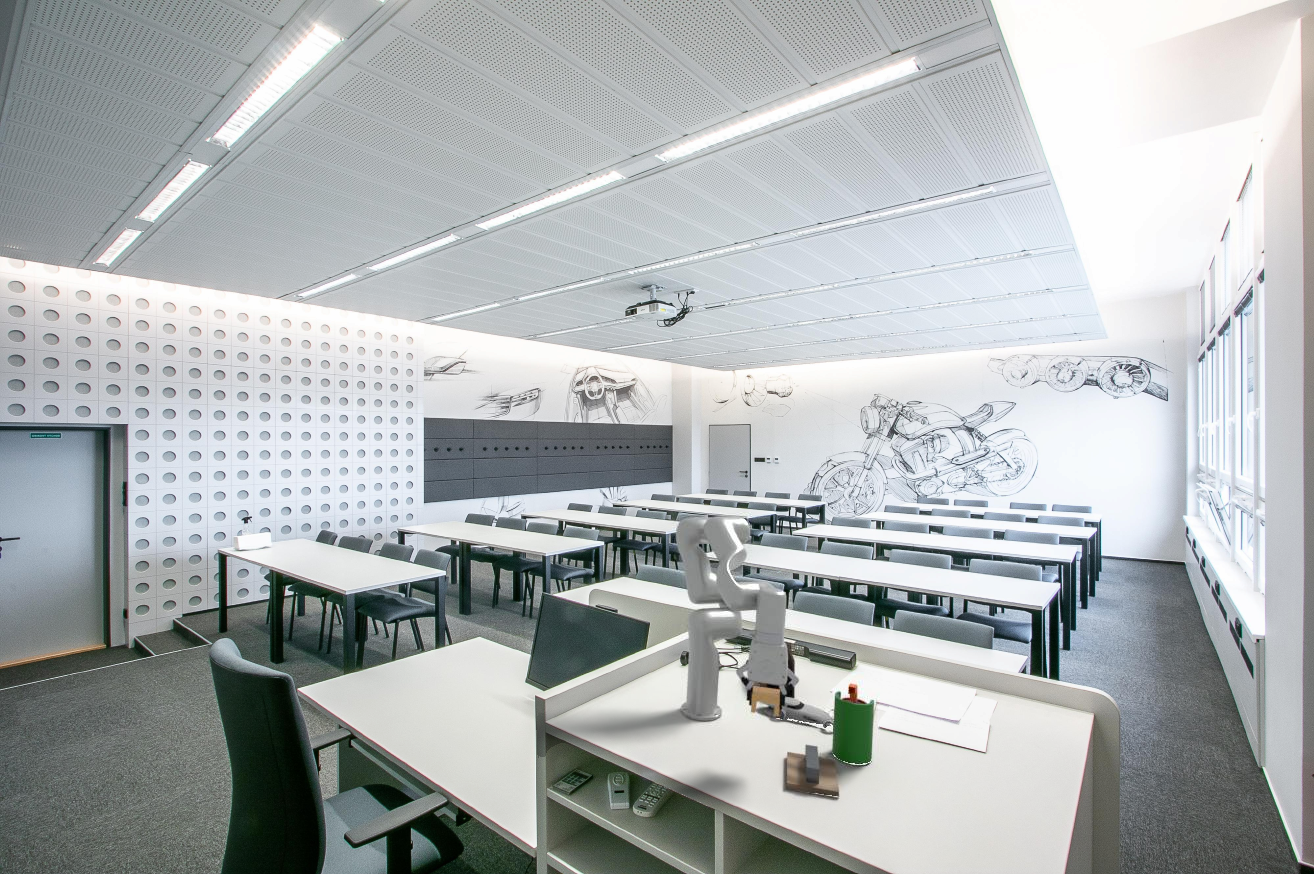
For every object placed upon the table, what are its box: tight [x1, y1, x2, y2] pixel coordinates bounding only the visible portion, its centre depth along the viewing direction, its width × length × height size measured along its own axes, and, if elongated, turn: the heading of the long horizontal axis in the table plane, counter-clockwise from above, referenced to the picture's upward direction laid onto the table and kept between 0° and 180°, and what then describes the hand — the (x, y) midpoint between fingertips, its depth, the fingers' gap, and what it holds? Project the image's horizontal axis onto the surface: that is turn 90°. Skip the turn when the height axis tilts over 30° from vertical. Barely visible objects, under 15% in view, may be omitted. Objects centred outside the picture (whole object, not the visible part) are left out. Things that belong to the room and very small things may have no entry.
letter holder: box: [758, 646, 796, 699], centre depth 208 cm, size 10×20×14 cm, turn 179°
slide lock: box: [750, 685, 780, 717], centre depth 155 cm, size 6×7×4 cm
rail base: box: [786, 751, 840, 797], centre depth 149 cm, size 16×12×2 cm
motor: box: [831, 683, 875, 764], centre depth 161 cm, size 10×9×20 cm
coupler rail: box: [804, 744, 820, 784], centre depth 150 cm, size 12×3×4 cm, turn 167°
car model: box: [762, 697, 834, 728], centre depth 185 cm, size 11×24×5 cm, turn 63°
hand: (765, 705), depth 155 cm, fingers closed on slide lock, 7 cm apart
